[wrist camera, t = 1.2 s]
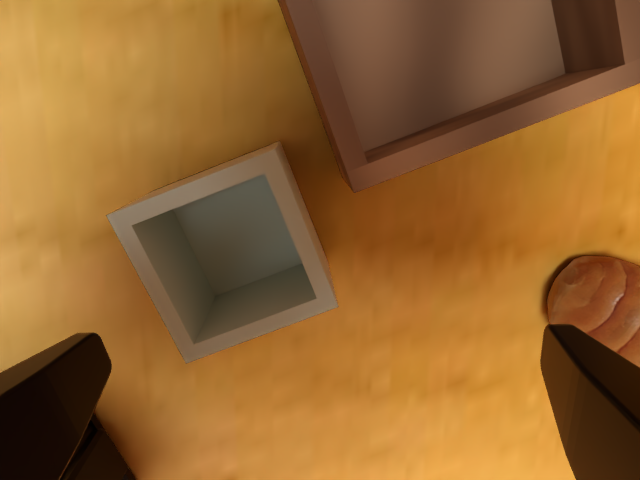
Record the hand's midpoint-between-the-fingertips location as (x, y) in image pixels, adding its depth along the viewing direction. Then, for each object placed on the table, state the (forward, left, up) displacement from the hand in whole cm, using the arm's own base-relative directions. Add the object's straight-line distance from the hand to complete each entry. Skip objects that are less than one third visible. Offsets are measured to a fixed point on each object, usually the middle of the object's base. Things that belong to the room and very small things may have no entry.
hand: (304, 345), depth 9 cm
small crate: (-2, 0, -12) cm, 12 cm away
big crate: (+8, +6, -12) cm, 15 cm away
